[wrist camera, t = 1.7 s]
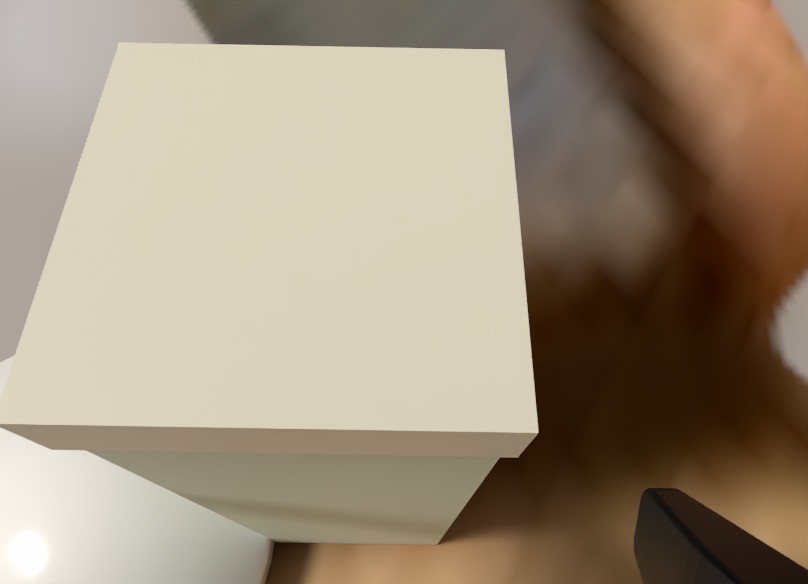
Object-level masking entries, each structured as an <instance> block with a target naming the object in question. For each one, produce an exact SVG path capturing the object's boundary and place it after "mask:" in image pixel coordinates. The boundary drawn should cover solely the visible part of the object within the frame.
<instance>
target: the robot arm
mask: <svg viewBox="0 0 808 584" xmlns="http://www.w3.org/2000/svg"><path fill="white" fill-rule="evenodd" d="M634 553H635V558H636V562H637V565H638V568H639V572H640V575H641V578H642V581H643V584H808V570H807V569H805V568H804V567H802V566H801V565H799V564H797V563H796V562H794V561H793V560H791V559H789V558H788V557H786V556H785V555H783V554H781V553H780V552H778V551H777V550H775V549H773V548H772V547H770V546H769V545H767V544H765V543H764V542H762V541H760V540H759V539H757V538H756V537H754V536H752V535H751V534H749V533H748V532H746V531H744V530H743V529H741V528H740V527H738V526H736V525H735V524H733V523H732V522H730V521H728V520H727V519H725V518H724V517H722V516H720V515H719V514H717V513H716V512H714V511H712V510H711V509H709V508H708V507H706V506H704V505H703V504H701V503H699V502H698V501H696V500H695V499H693V498H691V497H690V496H688V495H687V494H685V493H683V492H682V491H680V490H678V489H672V488H649V489H647V490H645V491H644V492H643V494H642V497H641V501H640V507H639V513H638V519H637V525H636V530H635V536H634Z"/></svg>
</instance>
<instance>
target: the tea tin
mask: <svg viewBox="0 0 808 584" xmlns="http://www.w3.org/2000/svg"><path fill="white" fill-rule="evenodd" d="M0 428H3V429H5V430H7V431H10V432H12V433H14V434H17V435H19V436H21V437H23V438H26V439H28V440H30V441H33V442H35V443H37V444H39V445H42V446H44V447H46V448H49V449H51V450H86V451H88V452H90V453H92V454H94V455H97V456H99V457H101V458H103V459H105V460H107V461H109V462H111V463H113V464H115V465H117V466H119V467H121V468H124V469H126V470H128V471H130V472H132V473H134V474H136V475H138V476H140V477H142V478H144V479H146V480H148V481H151V482H153V483H155V484H157V485H159V486H161V487H163V488H165V489H167V490H169V491H171V492H173V493H176V494H178V495H180V496H182V497H184V498H186V499H188V500H190V501H192V502H194V503H196V504H198V505H200V506H203V507H205V508H207V509H209V510H211V511H213V512H215V513H217V514H219V515H221V516H223V517H225V518H227V519H230V520H232V521H234V522H236V523H238V524H240V525H242V526H244V527H246V528H248V529H250V530H252V531H255V532H257V533H259V534H261V535H263V536H265V537H267V538H269V539H271V540H273V541H275V542H288V543H350V544H412V545H437V544H438V542H439V541H440V540H441V538H442V537H443V535H444V534H445V533H446V531H447V530H448V529H449V527H450V526H451V524H452V523H453V522H454V520H455V519H456V517H457V516H458V515H459V513H460V512H461V511H462V509H463V508H464V506H465V505H466V504H467V502H468V501H469V500H470V498H471V497H472V495H473V494H474V493H475V491H476V490H477V488H478V487H479V486H480V484H481V483H482V482H483V480H484V479H485V477H486V476H487V475H488V473H489V472H490V471H491V469H492V468H493V466H494V465H495V464H496V462H497V461H498V459H499V458H500V457H513V458H518V457H519V455H520V454H521V453H522V452H523V451H524V450H525V448H526V447H527V446H528V445H529V444H530V443H531V441H532V440H533V439H534V438H535V437H536V435H537V434H538V433H539V432H538V420H537V409H536V398H535V387H534V376H533V365H532V354H531V342H530V331H529V320H528V309H527V298H526V287H525V275H524V264H523V253H522V242H521V231H520V220H519V209H518V197H517V186H516V175H515V164H514V153H513V142H512V130H511V119H510V108H509V97H508V86H507V75H506V64H505V52H504V50H489V49H436V48H382V47H328V46H275V45H221V44H167V43H166V44H165V43H119V45H118V48H117V51H116V54H115V57H114V60H113V63H112V66H111V69H110V72H109V75H108V78H107V81H106V84H105V87H104V90H103V93H102V96H101V99H100V102H99V105H98V108H97V111H96V114H95V117H94V120H93V123H92V126H91V129H90V132H89V135H88V139H87V141H86V144H85V147H84V150H83V153H82V156H81V159H80V162H79V165H78V168H77V171H76V174H75V177H74V180H73V183H72V186H71V189H70V192H69V195H68V198H67V201H66V204H65V207H64V210H63V213H62V216H61V219H60V222H59V225H58V228H57V231H56V234H55V237H54V240H53V243H52V246H51V249H50V252H49V255H48V258H47V261H46V264H45V267H44V270H43V273H42V276H41V279H40V282H39V285H38V288H37V291H36V294H35V297H34V299H33V302H32V305H31V309H30V312H29V315H28V318H27V320H26V324H25V326H24V330H23V333H22V335H21V338H20V341H19V344H18V347H17V350H16V354H15V356H14V359H13V362H12V365H11V368H10V371H9V374H8V377H7V380H6V383H5V386H4V389H3V392H2V395H1V398H0Z"/></svg>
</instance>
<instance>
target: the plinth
mask: <svg viewBox="0 0 808 584" xmlns="http://www.w3.org/2000/svg"><path fill="white" fill-rule="evenodd" d="M13 359H14V356H12V357H11V358H8V359H7V360H5V361H2V362H1V363H0V398H1V395H2V392H3V389H4V386H5V383H6V380H7V377H8V374H9V371H10V368H11V365H12V362H13ZM274 544H275V541H273V540H271V539H269V538H267V537H265V536H263V535H261V534H259V533H257V532H255V531H252V530H250V529H248V528H246V527H244V526H242V525H240V524H238V523H236V522H234V521H232V520H230V519H227V518H225V517H223V516H221V515H219V514H217V513H215V512H213V511H211V510H209V509H207V508H205V507H203V506H200V505H198V504H196V503H194V502H192V501H190V500H188V499H186V498H184V497H182V496H180V495H178V494H176V493H173V492H171V491H169V490H167V489H165V488H163V487H161V486H159V485H157V484H155V483H153V482H151V481H148V480H146V479H144V478H142V477H140V476H138V475H136V474H134V473H132V472H130V471H128V470H126V469H124V468H121V467H119V466H117V465H115V464H113V463H111V462H109V461H107V460H105V459H103V458H101V457H99V456H97V455H94V454H92V453H90V452H88V451H86V450H51V449H49V448H46V447H44V446H42V445H39V444H37V443H35V442H33V441H30V440H28V439H26V438H23V437H21V436H19V435H17V434H14V433H12V432H10V431H7V430H5V429H3V428H0V584H265V583H266V579H267V576H268V572H269V569H270V565H271V562H272V556H273V550H274Z"/></svg>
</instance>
